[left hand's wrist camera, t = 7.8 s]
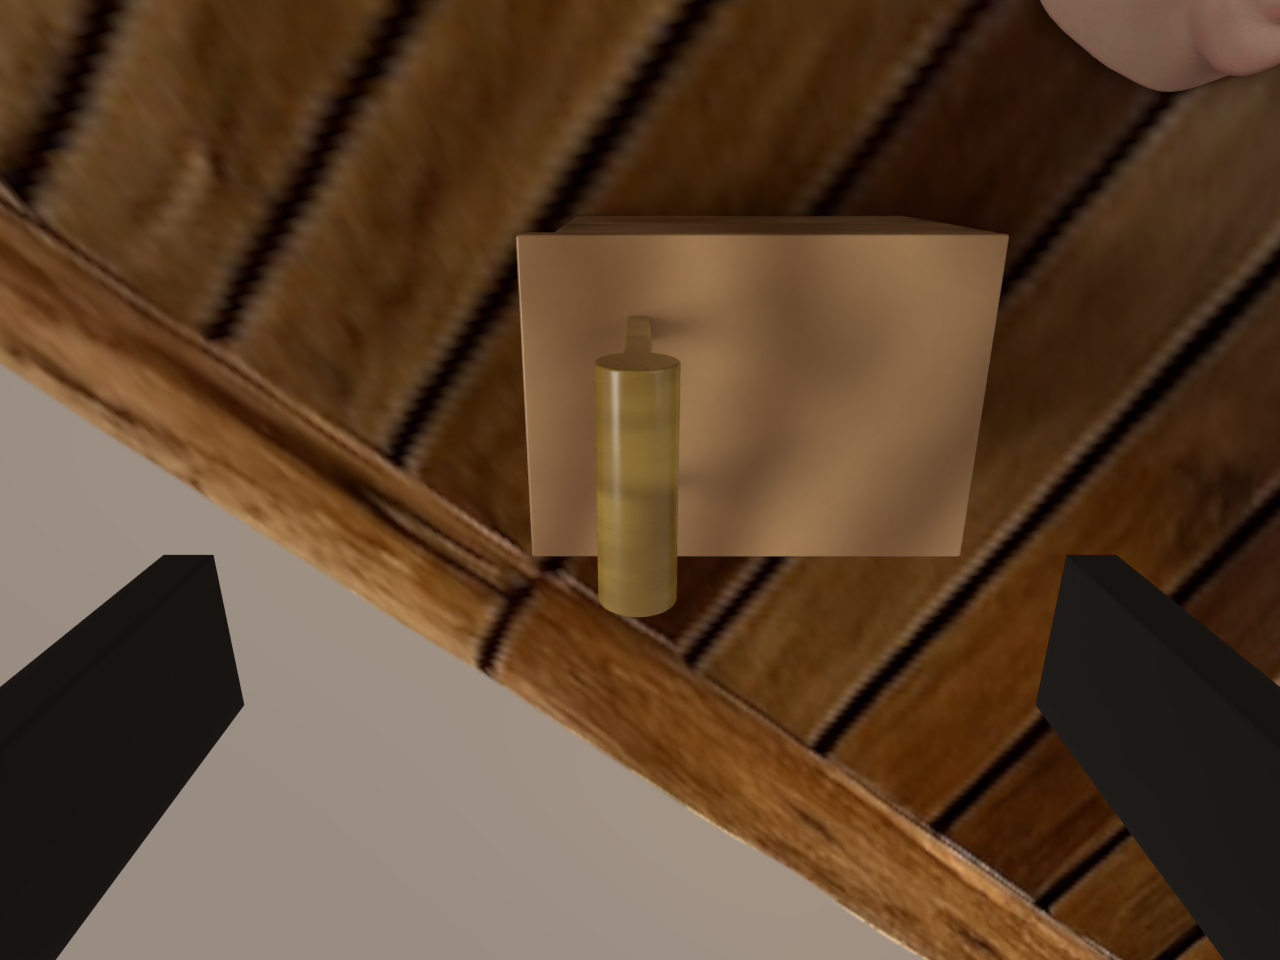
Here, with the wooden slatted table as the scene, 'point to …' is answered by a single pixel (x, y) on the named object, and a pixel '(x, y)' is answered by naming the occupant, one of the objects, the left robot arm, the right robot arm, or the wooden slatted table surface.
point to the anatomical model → (1174, 37)
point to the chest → (759, 224)
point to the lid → (751, 396)
